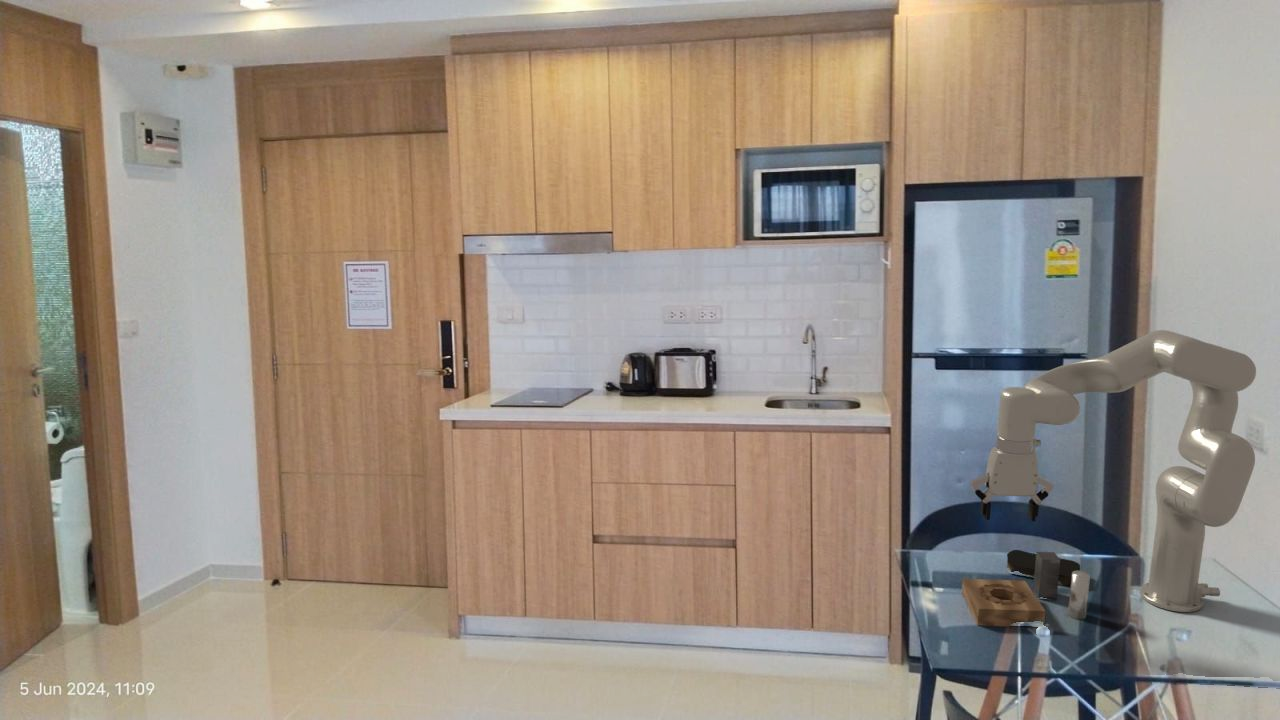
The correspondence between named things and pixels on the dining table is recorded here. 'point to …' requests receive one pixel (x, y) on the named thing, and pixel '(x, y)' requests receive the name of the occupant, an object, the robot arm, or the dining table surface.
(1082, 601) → the round bit
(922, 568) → the dining table surface
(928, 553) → the dining table surface
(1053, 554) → the square bit
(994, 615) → the socket block
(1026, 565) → the black sponge
